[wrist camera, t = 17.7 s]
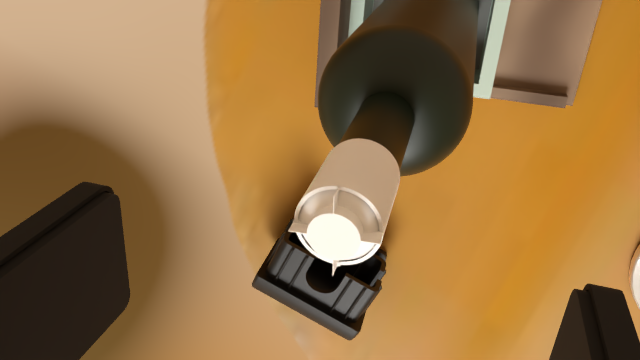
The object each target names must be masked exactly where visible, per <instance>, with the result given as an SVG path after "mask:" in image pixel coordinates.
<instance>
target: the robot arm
mask: <svg viewBox="0 0 640 360" xmlns="http://www.w3.org/2000/svg"><path fill="white" fill-rule="evenodd" d="M629 284H630V288H631V291H632V294H633V297H634V300H635V302H636V304H637V306H638V308H639V309H640V245H639V246H638V247H637V249H636V251H635V253H634V256H633V258H632V260H631V264H630V269H629ZM129 298H130V288H129V279H128V271H127V262H126V253H125V244H124V235H123V226H122V217H121V208H120V201H119V198H118V196H117V195H115V194H114V192H113V190H112V188H110V187H109V186H104V185H99V184H94V183H89V182H82V183H80V184H78V185H77V186H75V187H74V188H72V189H71V190H69V191H68V192H66V193H65V194H63V195H62V196H61V197H59V198H57V199H56V200H54V201H53V202H51V203H50V204H48V205H47V206H46V207H44V208H43V209H41V210H40V211H38V212H37V213H35V214H34V215H32V216H31V217H29V218H28V219H26V220H25V221H23V222H22V223H20V224H19V225H17V226H16V227H14V228H13V229H11V230H10V231H8V232H7V233H5V234H4V235H2V236H1V237H0V360H79V359H80V358H81V357H82V356H83V355H84V354H85V352H86V351H87V350H88V349H89V348H90V347H91V346H92V345H93V344H94V343H95V342H96V340H97V339H98V338H99V337H100V336H101V335H102V334H103V333H104V332H105V331H106V330H107V328H108V327H109V326H110V325H111V324H112V323H113V322H114V320H116V319H117V317H118V316H119V315H120V314H121V313H122V312H123V311H124V310H125V308H126V307H127V304H128V302H129ZM549 360H640V342H639V339H638V336H637V333H636V330H635V327H634V324H633V321H632V318H631V315H630V312H629V309H628V306H627V303H626V300H625V297H624V294H623V292H622V291H621V290H618V289H613V288H608V287H603V286H598V285H593V284H587V285H586V286H585V287H584V289H583V290H578V289H574V290H573V291H572V293H571V295H570V298H569V301H568V304H567V307H566V310H565V313H564V316H563V319H562V322H561V325H560V328H559V331H558V334H557V337H556V340H555V344H554V347H553V350H552V353H551V356H550V359H549Z"/></svg>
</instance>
